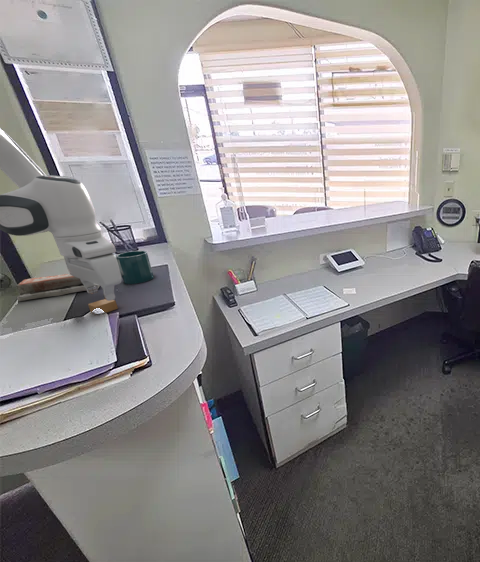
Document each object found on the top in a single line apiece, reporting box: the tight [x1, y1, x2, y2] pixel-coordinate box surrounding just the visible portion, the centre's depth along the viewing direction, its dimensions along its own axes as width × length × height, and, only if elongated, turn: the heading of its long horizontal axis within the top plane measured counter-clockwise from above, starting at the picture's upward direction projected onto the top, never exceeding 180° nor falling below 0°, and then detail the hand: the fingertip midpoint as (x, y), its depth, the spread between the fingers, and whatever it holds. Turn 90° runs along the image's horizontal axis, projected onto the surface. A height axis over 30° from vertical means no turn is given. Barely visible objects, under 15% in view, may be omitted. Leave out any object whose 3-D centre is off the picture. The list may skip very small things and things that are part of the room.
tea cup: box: [115, 250, 155, 285], centre depth 103 cm, size 8×8×9 cm
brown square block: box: [87, 298, 119, 314], centre depth 82 cm, size 4×4×2 cm
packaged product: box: [16, 273, 101, 302], centre depth 95 cm, size 18×5×10 cm
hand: (101, 296), depth 81 cm, fingers open, 8 cm apart
